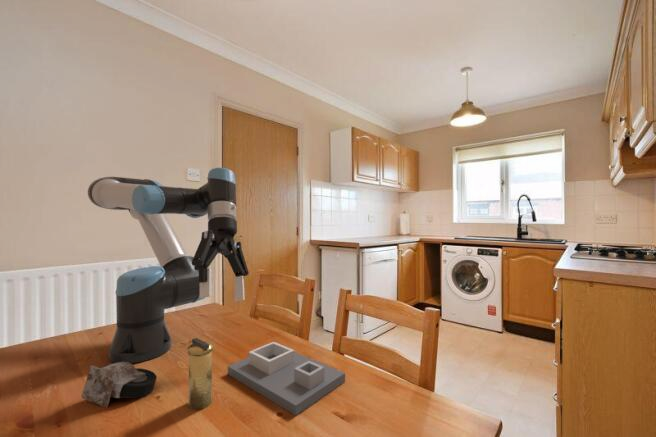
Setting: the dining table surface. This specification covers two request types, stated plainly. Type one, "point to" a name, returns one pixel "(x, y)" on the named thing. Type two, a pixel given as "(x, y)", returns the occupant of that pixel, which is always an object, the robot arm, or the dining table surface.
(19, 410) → the dining table surface
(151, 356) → the robot arm
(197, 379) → the amber translucent cylinder
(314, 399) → the board
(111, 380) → the caster wheel
